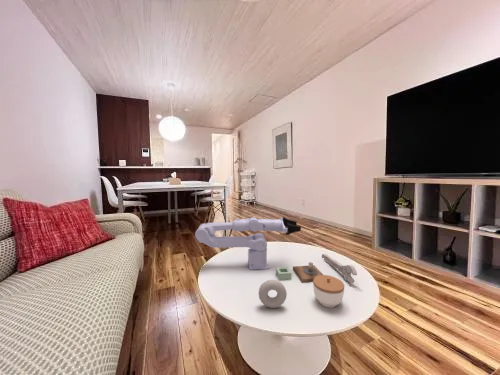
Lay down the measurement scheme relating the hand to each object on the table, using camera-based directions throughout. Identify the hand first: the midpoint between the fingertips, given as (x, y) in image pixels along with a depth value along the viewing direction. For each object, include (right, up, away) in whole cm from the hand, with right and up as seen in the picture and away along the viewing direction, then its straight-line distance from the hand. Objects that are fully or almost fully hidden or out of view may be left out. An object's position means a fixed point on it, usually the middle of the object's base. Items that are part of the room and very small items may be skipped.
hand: (298, 226), depth 106 cm
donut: (-16, -23, -31) cm, 42 cm away
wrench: (+17, -21, -4) cm, 28 cm away
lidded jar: (+4, -23, -28) cm, 37 cm away
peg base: (+3, -21, -8) cm, 23 cm away
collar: (-9, -21, -10) cm, 25 cm away
